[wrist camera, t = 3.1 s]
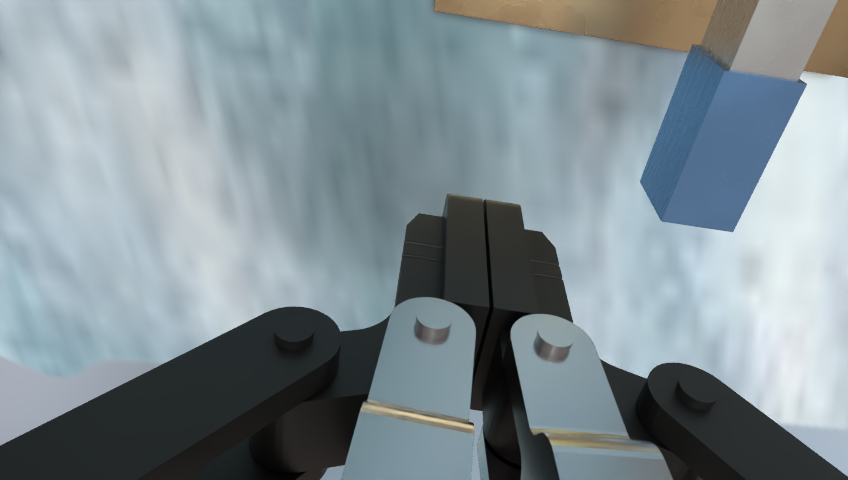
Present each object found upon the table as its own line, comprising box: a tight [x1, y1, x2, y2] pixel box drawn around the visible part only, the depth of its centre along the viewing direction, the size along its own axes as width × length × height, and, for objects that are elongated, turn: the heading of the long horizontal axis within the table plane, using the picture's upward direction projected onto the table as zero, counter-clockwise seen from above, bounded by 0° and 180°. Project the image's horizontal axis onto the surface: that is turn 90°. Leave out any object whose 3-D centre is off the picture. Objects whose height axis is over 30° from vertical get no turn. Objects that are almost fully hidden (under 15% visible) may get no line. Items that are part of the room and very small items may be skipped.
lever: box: [640, 0, 838, 232], centre depth 18 cm, size 13×4×3 cm, turn 172°
